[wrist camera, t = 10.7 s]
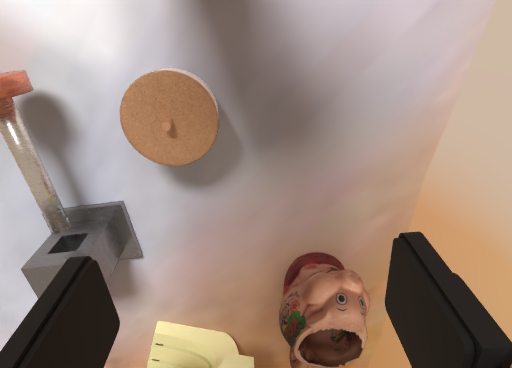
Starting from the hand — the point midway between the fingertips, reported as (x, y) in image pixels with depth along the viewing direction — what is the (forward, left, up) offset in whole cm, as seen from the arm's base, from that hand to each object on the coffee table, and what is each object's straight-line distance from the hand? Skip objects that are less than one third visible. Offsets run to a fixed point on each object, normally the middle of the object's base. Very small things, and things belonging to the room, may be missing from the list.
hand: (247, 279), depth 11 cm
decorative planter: (+35, +6, -36) cm, 51 cm away
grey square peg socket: (+20, -27, -36) cm, 49 cm away
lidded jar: (+2, -9, -36) cm, 37 cm away
